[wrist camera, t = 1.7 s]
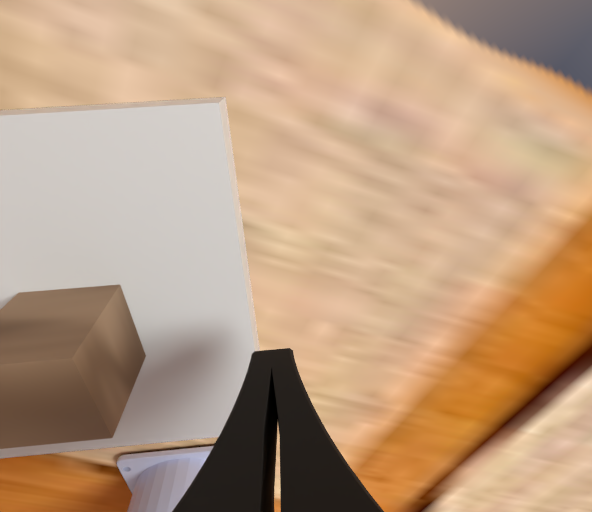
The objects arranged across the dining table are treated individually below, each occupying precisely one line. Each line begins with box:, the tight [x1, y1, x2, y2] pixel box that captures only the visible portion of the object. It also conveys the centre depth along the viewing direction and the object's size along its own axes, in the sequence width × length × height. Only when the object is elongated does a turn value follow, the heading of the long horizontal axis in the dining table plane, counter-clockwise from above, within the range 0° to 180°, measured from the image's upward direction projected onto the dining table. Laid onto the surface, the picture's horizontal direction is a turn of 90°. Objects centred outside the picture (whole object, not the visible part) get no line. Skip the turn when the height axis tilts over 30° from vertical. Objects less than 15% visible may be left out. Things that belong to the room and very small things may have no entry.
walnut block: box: [0, 285, 146, 449], centre depth 13 cm, size 4×4×4 cm
